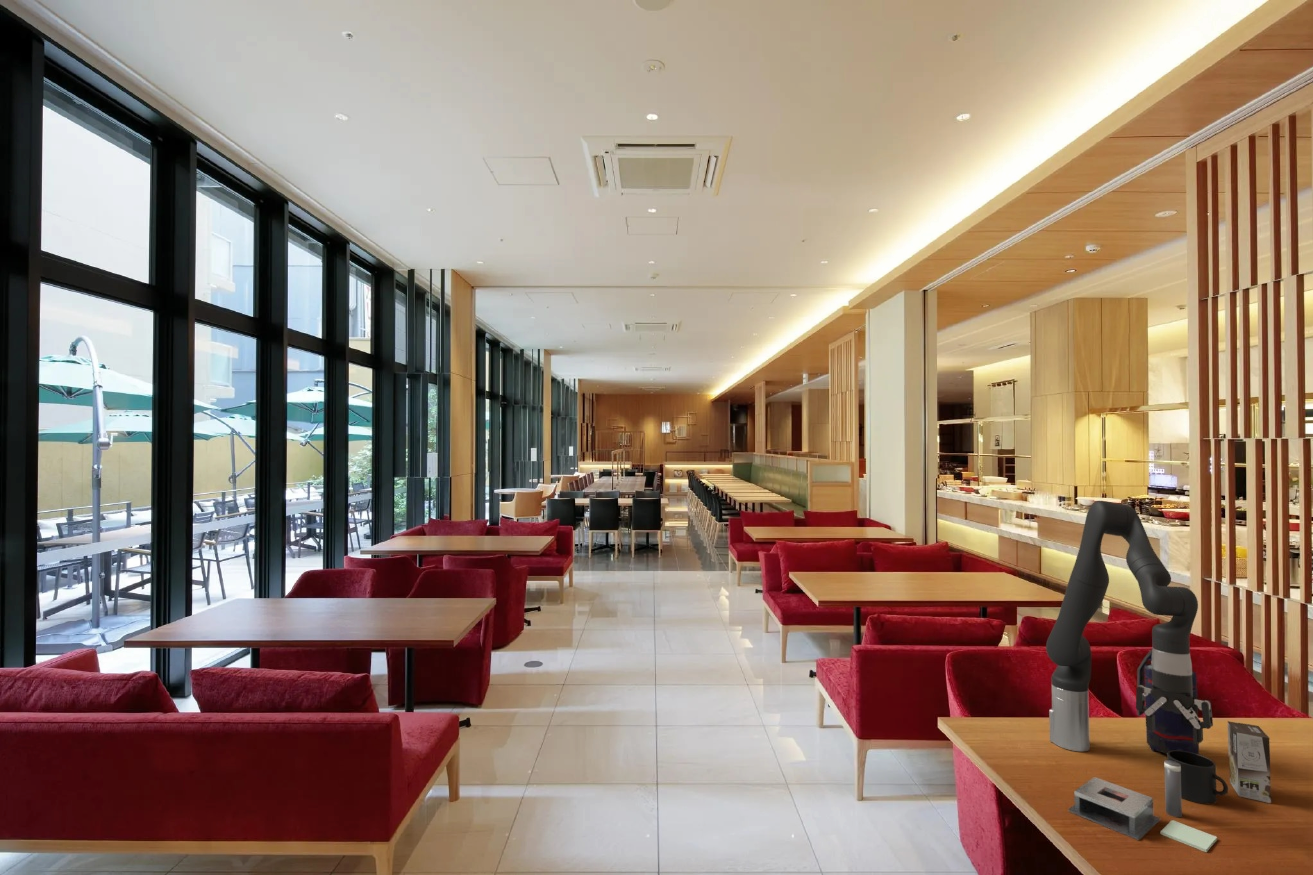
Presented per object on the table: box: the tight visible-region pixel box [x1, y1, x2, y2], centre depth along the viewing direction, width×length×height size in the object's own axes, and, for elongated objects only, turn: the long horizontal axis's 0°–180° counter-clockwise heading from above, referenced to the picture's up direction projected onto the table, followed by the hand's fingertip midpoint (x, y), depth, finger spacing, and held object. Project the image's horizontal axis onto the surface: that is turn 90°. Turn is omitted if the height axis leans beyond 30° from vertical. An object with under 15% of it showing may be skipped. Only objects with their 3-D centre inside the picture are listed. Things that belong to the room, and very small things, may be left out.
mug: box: [1166, 750, 1229, 805], centre depth 157 cm, size 9×12×9 cm
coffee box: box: [1227, 720, 1272, 804], centre depth 159 cm, size 9×6×16 cm
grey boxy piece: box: [1068, 776, 1161, 841], centre depth 148 cm, size 14×14×5 cm
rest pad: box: [1160, 820, 1218, 853], centre depth 139 cm, size 8×8×1 cm
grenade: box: [1136, 647, 1200, 755], centre depth 183 cm, size 14×12×30 cm
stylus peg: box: [1163, 759, 1183, 818], centre depth 149 cm, size 3×3×12 cm
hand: (1173, 736), depth 150 cm, fingers open, 8 cm apart
